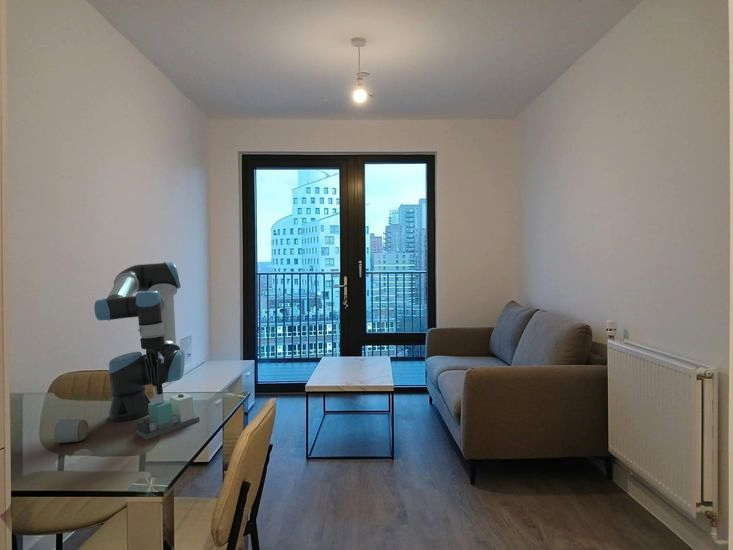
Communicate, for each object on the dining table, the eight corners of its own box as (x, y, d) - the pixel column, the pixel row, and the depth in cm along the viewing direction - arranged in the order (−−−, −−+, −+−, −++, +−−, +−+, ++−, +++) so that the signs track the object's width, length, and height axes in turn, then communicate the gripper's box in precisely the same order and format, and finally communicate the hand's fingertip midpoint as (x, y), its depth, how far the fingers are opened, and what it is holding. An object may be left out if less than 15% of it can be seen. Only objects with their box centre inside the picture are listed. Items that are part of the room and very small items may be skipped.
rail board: (146, 439, 163) (143, 410, 162) (136, 434, 168) (133, 405, 167) (199, 420, 177) (196, 393, 176) (188, 416, 182) (185, 390, 181)
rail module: (159, 430, 166) (156, 407, 166) (150, 425, 171) (147, 403, 170) (173, 425, 170) (171, 402, 169) (164, 420, 175) (162, 399, 174)
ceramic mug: (80, 444, 163) (78, 421, 162) (54, 447, 162) (52, 424, 162) (94, 432, 174) (92, 411, 173) (70, 434, 173) (68, 413, 172)
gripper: (132, 336, 170) (140, 402, 171) (149, 339, 161) (157, 409, 163) (154, 332, 175) (161, 396, 177) (171, 335, 166) (178, 402, 168)
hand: (159, 402), depth 170 cm, fingers closed
